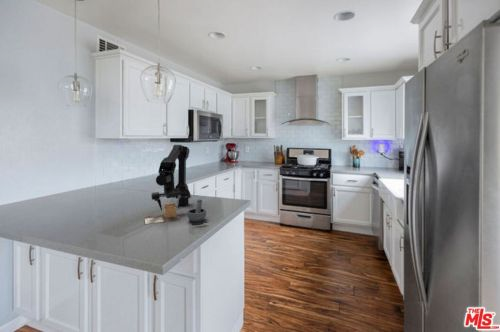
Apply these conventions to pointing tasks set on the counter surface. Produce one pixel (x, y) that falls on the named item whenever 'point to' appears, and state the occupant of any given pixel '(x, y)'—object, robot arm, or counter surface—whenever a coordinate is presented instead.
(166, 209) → the tan wooden cube
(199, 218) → the mortar and pestle
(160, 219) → the board
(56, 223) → the counter surface
